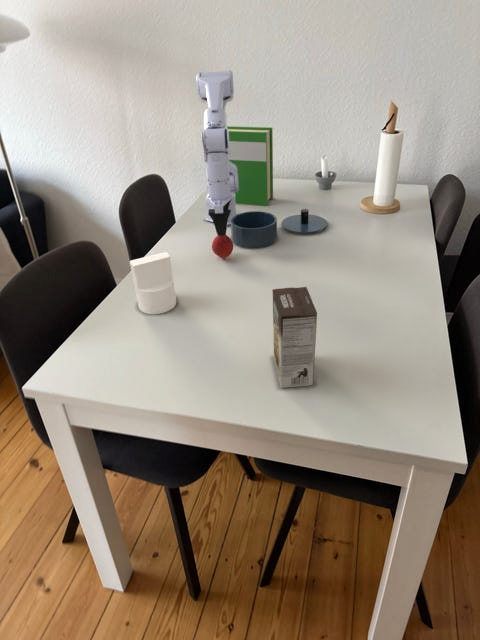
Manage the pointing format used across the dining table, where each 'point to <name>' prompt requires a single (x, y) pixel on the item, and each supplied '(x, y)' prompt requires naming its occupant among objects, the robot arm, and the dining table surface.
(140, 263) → the base with upright slab
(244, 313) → the dining table surface
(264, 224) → the pot
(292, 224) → the pot lid
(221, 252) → the red round fruit
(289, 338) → the coffee box
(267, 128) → the hardback book
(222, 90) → the robot arm
